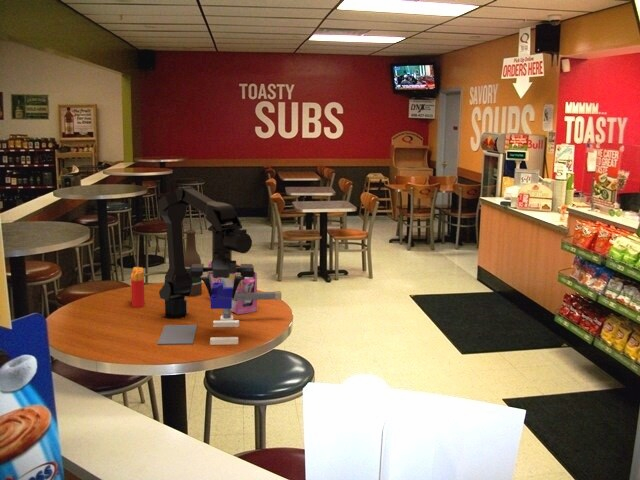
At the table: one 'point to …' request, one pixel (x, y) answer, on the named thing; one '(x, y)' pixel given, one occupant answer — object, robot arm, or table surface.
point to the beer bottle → (192, 261)
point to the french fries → (137, 287)
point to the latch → (252, 298)
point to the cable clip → (221, 296)
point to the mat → (177, 335)
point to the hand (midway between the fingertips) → (222, 298)
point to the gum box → (244, 286)
